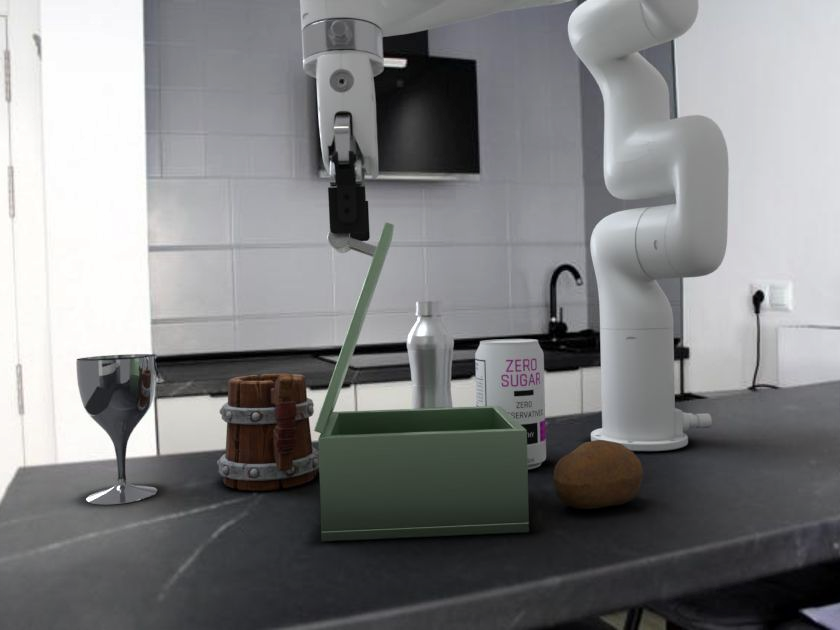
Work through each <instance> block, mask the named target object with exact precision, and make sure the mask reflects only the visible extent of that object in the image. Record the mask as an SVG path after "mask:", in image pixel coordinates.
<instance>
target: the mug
mask: <svg viewBox="0 0 840 630" xmlns="http://www.w3.org/2000/svg"><path fill="white" fill-rule="evenodd" d="M307 393H308V392H307V381H306V376H305V375H303V374H299V373H262V374H261V375H260V376H259V375H258V374H249V375H242V376H236V377H233V378H229V380H228V381H227V402H225V403H224V404H223V405H221V407H220V409H219V414H220V415H221V420H222V421H223V422H225V423H226V435H225V436H226V437H225V440H226V442H225V453H224V454H223V455H222V456H221V457H220V458H219V459H218V460H217V462H216V465H217V467H218V473H219V474H220V476H221V477H223V478H222V482H223V483H224V485H225V486H226V487H227V488H230V489H233V490H235V489H237V490H238V491H248V492H252V491H253V492H266V491H277V490H280V487H282V488H283V489H285V490H286V489H290V488H295V487H298V486H301V485H305V484H308V483H310V482H311V481H312V480H314V479H315V478H316V476H317V469H319V449H318V450H317V449H316V448H315V447H313V441H312V433H311V426H310V425H311V424H310V418H311V417H312V416H313V415H314V413H315V409H314V406H315V404H314V402H313V399H312V398H309V397H308V395H307Z"/></svg>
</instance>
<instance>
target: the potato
mask: <svg viewBox="0 0 840 630" xmlns="http://www.w3.org/2000/svg"><path fill="white" fill-rule="evenodd" d="M643 477H644V469H643V465H642V462H641V460H640V459H639V458H638V456H637V455H636V454H635V452H634V451H631V450H629V449H628V448H626V447H625V446H624V445H622V444H620V443H616V442H611V441H606V440H594V441H591V440H590V441H586V442H584V443H581V444H580V445H579V446H577V447H576V448H575V449H574V450H572V451H571V452H569V453H568V454H566V455H564V456H562V457H561V458H560V459H559V460H558V461H557V462H556V464H555V466H554V471H553V483H554V484H553V485H554V490H555V493H556V495H557V497H558V498H559V499H560V500H561V501H562V502H563V504H565V505H567V506H569V507H571V508H574V509H577V510H594V509H600V508H607V507H611V506H613V507H615V506H622V505H625V504H626V503H629V502H630V501H632V500H633V499H634V498H635V497H636V496H637V494H638V493H639V491H640V489H641V485H642V482H643Z"/></svg>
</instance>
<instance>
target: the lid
mask: <svg viewBox="0 0 840 630" xmlns="http://www.w3.org/2000/svg"><path fill="white" fill-rule="evenodd" d="M394 227H395V224H393V223H391V222H387V221H385V222H384V224H383V226H382V230H381V233H380V235H379V239H378V242H377V245H373V244H370V243H369V242H366V241H359V240H356V239H353V238H351V236H350V234H333V233H332V232H331V231H330V230H329V231H328V233H327V242H328V243H329V245H330V246H331V247H332V248H333V250H335V251H336V252H337V253H339V254H345V253H348V252H350V251H351V250H352V251H354V252H357V253H360V254H362V255H367V256H369V257H371V258H372V260H371V262H370V265H369V267H368V271H367V274H366V277H365V280H364V282H363V285H362V289H361V291H360V294H359V297H358V300H357V302H356V305H355V309H354V311H353V312H354V313H353V315H352V316H351V317H352V318H351V320H350V323H349V326H348V329H347V333H346V335H345V337H344V341H343V344H342V347H341V350H340V353H339V355H338V359H337V362H336V364H335V368H334V371H333V373H332V376H331V379H330V382H329V385H328V387H327V391H326V394H325V397H324V400H323V402H322V405H321V408H320V411H319V414H318V417H317V420H316V423H315V425H314V429H313V431H314V432H316V433H319V434H321V433H323V432H324V430H325V428H326V425H327V423H328V421H329V419H330V417H331V414H332V412H334V410H335V408H336V405H337V402H338V399H339V396H340V393H341V390H342V388H343V384H344V382H345V378H346V375H347V372H348V369H349V366H350V364H351V361H352V357H353V355H354V352H355V349H356V346H357V343H358V340H359V339H360V338H359V337H360V334H361V331H362V328H363V325H364V323H365V320H366V317H367V314H368V311H369V308H370V305H371V302H372V300H373V297H374V293H375V291H376V287H377V284H378V282H379V279H380V276H381V273H382V271H383V267H384V264H385V261H386V259H387V256H388V253H389V250H390V247H391V244H392V241H393V235H394V229H395V228H394Z"/></svg>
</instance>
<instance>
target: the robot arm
mask: <svg viewBox="0 0 840 630" xmlns="http://www.w3.org/2000/svg"><path fill="white" fill-rule="evenodd" d="M572 1H573V0H299V4H300V5H299V8H300V29H301V51H302V52H301V53H302V68H303V69H302V71H303V72H304V73H305V74H306V75H308V76H309V77H312V78H315V79H316V98H317V99H316V100H317V115H318V118H317V119H318V128H319V129H318V130H319V138H320V140H319V141H320V148H321V154H322V163H323V166H324V169H325V171H326V173H327V174H328V175H327V176H329V186H330V187H329V186H328V187H327V194H328V197H327V198H328V215H329V216H328V217H329V218H328V219H329V231H331V232H332V233H333V234H350V236H351V238H353V239H356V240H359V241H362V242H368V241H369V240H370V237H371V233H370V215H369V213H370V212H369V200H367V197H366V181H365V180H366V179H365V178H366V176H371V179H372V180H376V179H377V178H378V177H379V173H380V172H379V145H378V144H379V143H378V122H377V101H376V100H377V99H376V88H375V87H376V86H375V81H374V80H375V79H374V77H377V76H378V75H381V74H382V73H383V72H384V70H385V63H384V37H385V38H386V37H393V36H401V35H408V34H414V33H419V32H424V31H427V30H432V29H436V28H441V27H445V26H448V25H453V24H456V23H457V24H458V23H462V22H467V21H472V20H476V19H481V18H485V17H488V16H491V15H495V14H498V13H502V12H508V11H516V10H522V9H530V8H538V7H539V8H540V7H546V6H552V5H553V6H554V5H561V4H565V3H569V2H572ZM698 13H699V0H584V1H583V2H582V3H580V4H579V5H578V6H577V7H576V8H575V9H574V10H573V11H572V12H571V15H570V16H569V18H568V22H567V35H568V39H569V43H570V45H571V47H572V49H573V51H574V53H575V54H576V56H577V57H578V58H579V59H580V61H581V62H582V63H583V64H584V66H585V67H586V68H587V70H588V71H589V73H590V74H591V75H592V77H593V78H594V80H595V82H596V84H597V85H598V86H599V87H598V88H599V90H600V92H601V95H602V100H603V115H604V116H603V120H604V123H603V179H604V184H605V188H606V190H607V191H608V193H609V194H610V195H611V196H613V197H614V198H615V199H619V200H624V201H635V200H647V199H653V198H660V197H665V196H673V195H675V203H669V204H663V205H652V206H645V207H643V206H642V207H637V208H630V209H624V210H619V211H616V212H613V213H610V214H609V215H607V216H604V217H603V218H602V219H601V220H600V221H599V222H598V223H597V224H596V225H595V226H594V228H593V230H592V233H591V235H590V243H589V246H590V256H591V260H592V265H593V270H594V274H595V278H596V285H597V293H598V306H599V308H598V309H599V342H600V345H599V346H600V385H601V386H600V388H601V392H600V393H601V428H595V429H594V430H592V431H591V432H590V441H594V440H606V441H611V442H616V443H620V444H622V445H624V446H625V447H626V448H628V449H629V450H631V451H633V452H665V451H672V450H679V449H682V448H684V447H686V446H687V445H688V444H689V436H688V435H687V433H685V432H687V431H689V430H690V429H692V428H693V429H694V428H695V429H711V427H712V425H713V418H712V416H711V414H710V413H695V414H693V413H692V412H685V411H684V412H683V410H681V409H679V408H676V399H675V398H676V397H675V396H676V395H675V394H676V393H675V389H676V388H675V345H674V343H675V341H674V339H675V337H674V313H673V309H672V305H671V303H670V301H669V298H668V297H667V295H666V293H665V291H664V290H663V289H662V287H661V286H660V284H659V283H658V281H657V280H661V279H662V280H663V279H685V278H698V277H700V278H701V277H704V276H707V275H710V274H712V273H714V272H715V271H717V270H718V269H719V268H720V266H721V265H722V263H723V261H724V259H725V256H726V252H727V246H728V232H729V231H728V227H729V173H730V172H729V168H730V167H729V152H728V146H727V142H726V139H725V136H724V134H723V132H722V130H721V127H720V126H719V124H718V123H716V121H714V120H713V119H711V118H709V117H708V116H705V115H700V114H692V115H685V116H680V117H674V118H672V119H671V118H670V117H671V113H670V112H671V109H670V108H671V107H670V90H669V85H668V84H667V83H668V82H666V80H665V78H664V76H663V75H662V74H661V72H660V71H659V70H658V69H657V68H656V67H655V66H654V65H653V64H651V63H650V62H649V61H648V60H647V59H646V57H644V56H643V55H642V54H641V53H640V52H641V51H644V50H648V49H649V48H652V47H655V46H658V45H662V44H665V43H669V42H671V41H673V40H676V39H678V38H680V37H682V36H683V35H685V34H686V33H687V32H689V30H691V28H692V27H693V25H694V24H695V22H696V21H697V20H696V19H697V17H698Z"/></svg>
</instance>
